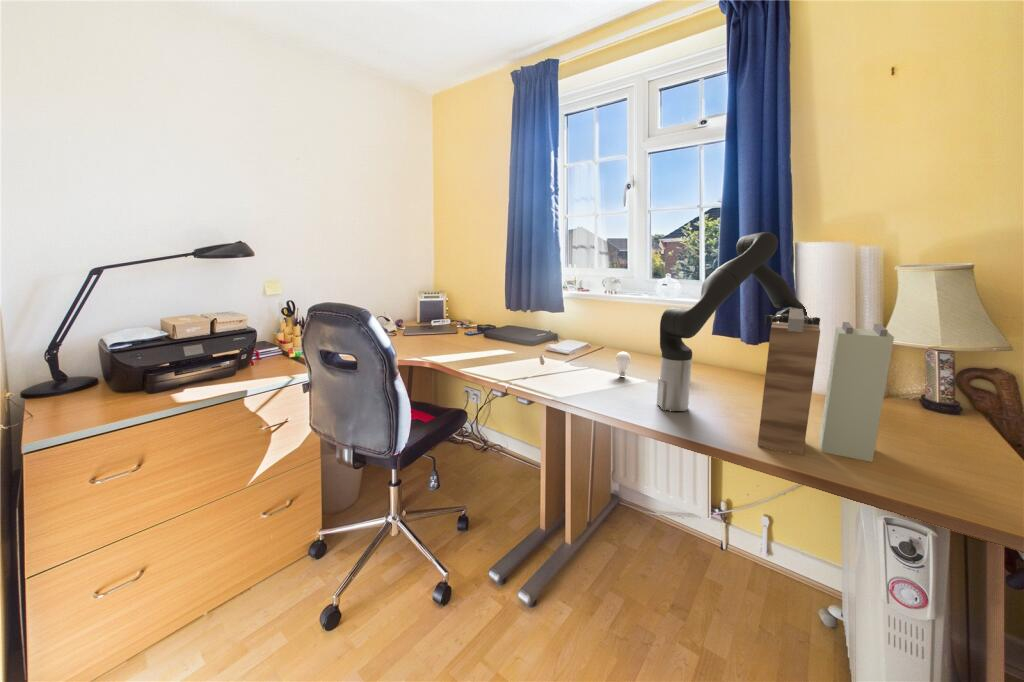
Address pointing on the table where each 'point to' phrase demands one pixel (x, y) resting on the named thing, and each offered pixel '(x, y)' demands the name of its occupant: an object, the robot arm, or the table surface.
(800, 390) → the walnut stand
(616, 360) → the lightbulb
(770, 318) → the robot arm
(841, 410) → the cradle stand
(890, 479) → the table surface
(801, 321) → the axle bar
